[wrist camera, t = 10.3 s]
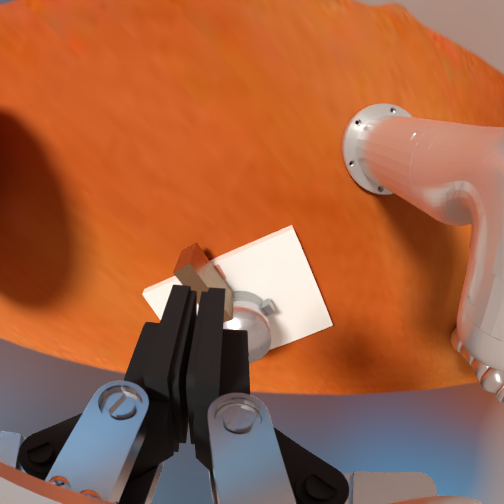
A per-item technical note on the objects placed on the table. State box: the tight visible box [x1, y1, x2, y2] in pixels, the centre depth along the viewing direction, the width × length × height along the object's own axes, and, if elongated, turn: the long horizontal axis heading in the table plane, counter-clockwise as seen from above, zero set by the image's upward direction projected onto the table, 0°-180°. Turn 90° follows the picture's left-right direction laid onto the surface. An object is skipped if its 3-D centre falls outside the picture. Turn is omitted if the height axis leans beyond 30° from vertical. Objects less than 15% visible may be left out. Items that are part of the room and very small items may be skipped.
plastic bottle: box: [451, 327, 504, 403], centre depth 44 cm, size 6×7×20 cm
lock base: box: [142, 225, 333, 350], centre depth 48 cm, size 24×18×2 cm
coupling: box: [173, 243, 275, 363], centre depth 42 cm, size 17×10×7 cm, turn 30°
